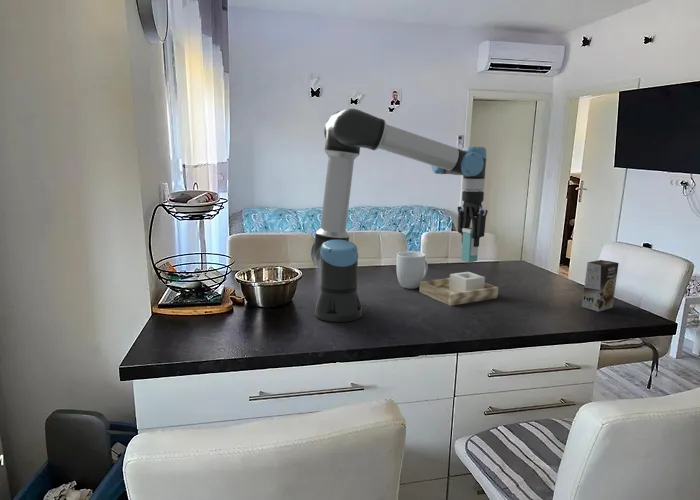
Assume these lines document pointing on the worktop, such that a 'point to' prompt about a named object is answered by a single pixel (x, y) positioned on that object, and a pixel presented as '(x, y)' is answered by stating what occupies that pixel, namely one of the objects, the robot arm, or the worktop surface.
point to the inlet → (466, 282)
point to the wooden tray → (444, 294)
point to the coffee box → (600, 285)
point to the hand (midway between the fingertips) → (469, 253)
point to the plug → (467, 245)
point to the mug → (411, 269)
